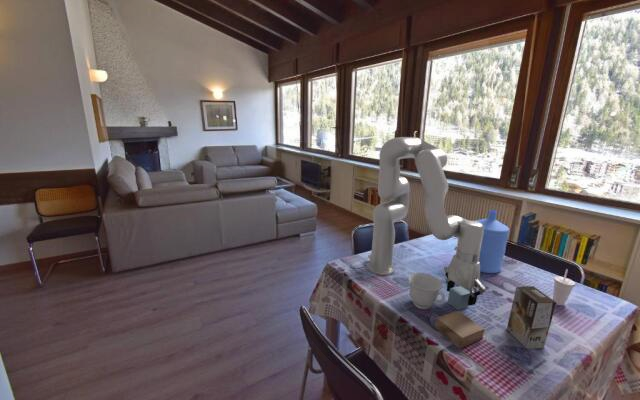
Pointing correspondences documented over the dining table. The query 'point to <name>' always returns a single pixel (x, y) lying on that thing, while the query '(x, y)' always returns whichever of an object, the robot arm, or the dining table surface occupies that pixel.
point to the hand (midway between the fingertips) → (460, 297)
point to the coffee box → (531, 316)
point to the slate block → (458, 297)
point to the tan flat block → (459, 328)
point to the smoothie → (562, 289)
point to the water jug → (492, 244)
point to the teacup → (425, 290)
